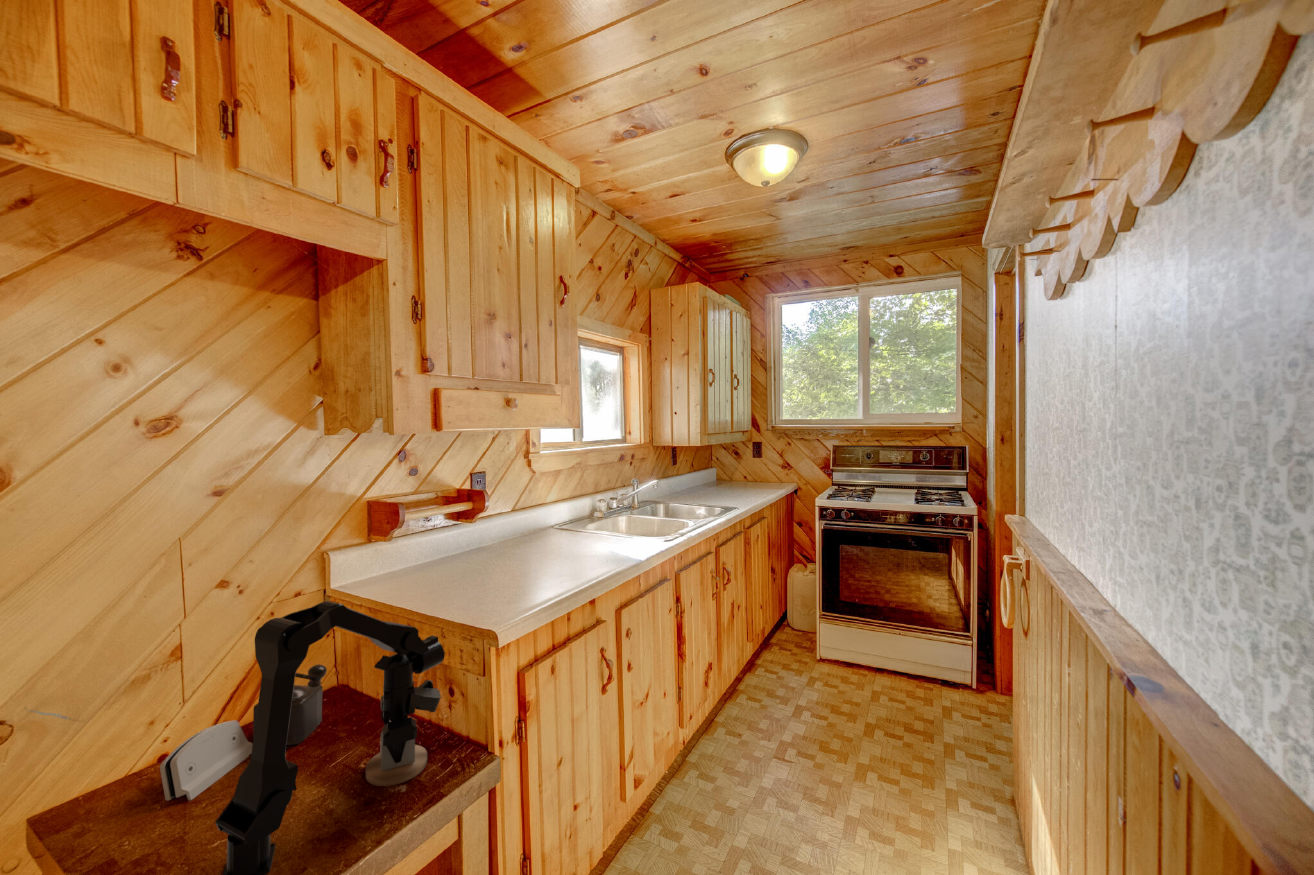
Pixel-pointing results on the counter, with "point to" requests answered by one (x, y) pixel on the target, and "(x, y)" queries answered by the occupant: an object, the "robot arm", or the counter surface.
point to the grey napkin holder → (204, 759)
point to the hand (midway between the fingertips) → (397, 754)
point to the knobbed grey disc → (395, 769)
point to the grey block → (407, 756)
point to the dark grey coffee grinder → (304, 706)
